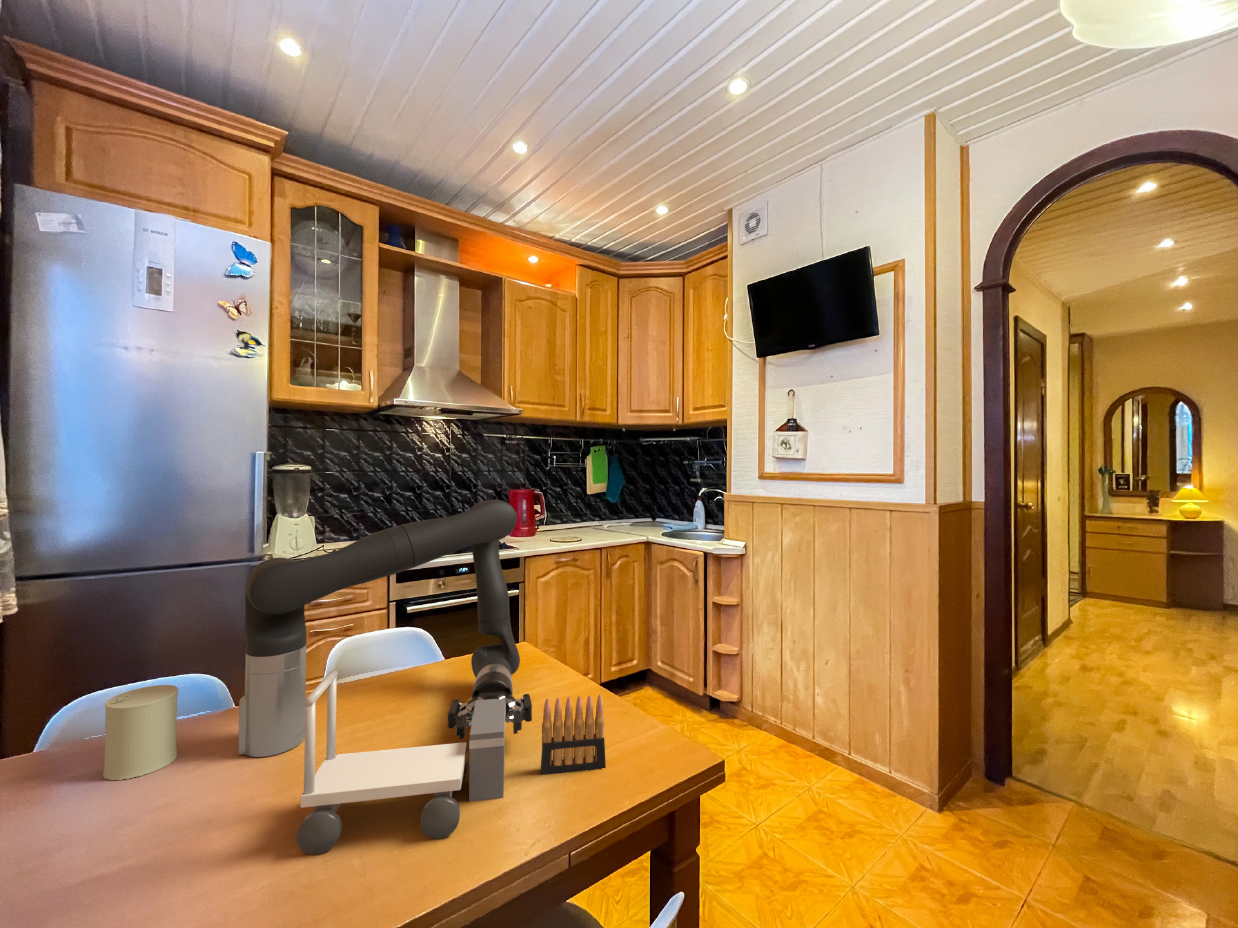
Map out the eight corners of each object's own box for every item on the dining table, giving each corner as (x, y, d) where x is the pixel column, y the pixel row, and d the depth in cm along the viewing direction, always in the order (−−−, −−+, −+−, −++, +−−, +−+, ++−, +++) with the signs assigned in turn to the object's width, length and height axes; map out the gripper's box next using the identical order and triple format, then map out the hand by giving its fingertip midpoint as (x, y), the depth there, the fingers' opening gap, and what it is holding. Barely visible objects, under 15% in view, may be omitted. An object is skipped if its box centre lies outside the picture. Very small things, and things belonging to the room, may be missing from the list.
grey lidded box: (468, 802, 78) (469, 734, 78) (474, 758, 90) (475, 700, 90) (503, 798, 79) (504, 731, 79) (505, 755, 91) (505, 697, 91)
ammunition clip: (604, 762, 89) (604, 691, 89) (605, 768, 87) (606, 696, 87) (540, 768, 87) (541, 696, 87) (541, 775, 85) (541, 700, 85)
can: (101, 765, 87) (102, 692, 87) (173, 744, 94) (174, 677, 94) (104, 788, 81) (106, 710, 81) (181, 764, 88) (182, 692, 88)
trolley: (296, 856, 67) (298, 702, 67) (329, 797, 79) (331, 667, 79) (459, 836, 71) (460, 690, 71) (467, 782, 83) (468, 658, 83)
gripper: (454, 673, 100) (443, 711, 84) (530, 668, 103) (533, 703, 87) (454, 712, 100) (443, 758, 84) (529, 706, 103) (532, 749, 87)
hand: (489, 730), depth 85 cm, fingers open, 8 cm apart
